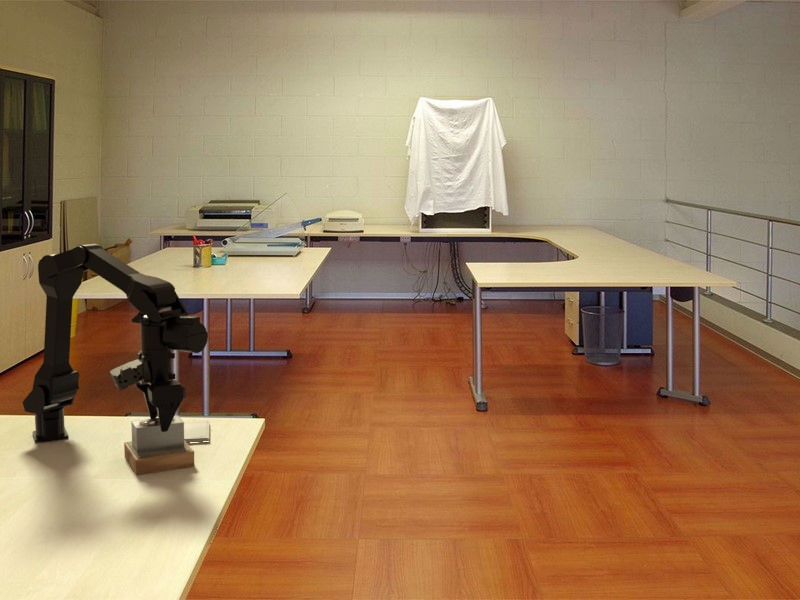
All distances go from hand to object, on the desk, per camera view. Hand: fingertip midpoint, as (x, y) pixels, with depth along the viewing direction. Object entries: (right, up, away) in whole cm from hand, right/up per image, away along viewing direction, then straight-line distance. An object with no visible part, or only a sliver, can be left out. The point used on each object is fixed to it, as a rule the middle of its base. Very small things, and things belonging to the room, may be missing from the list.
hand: (158, 424), depth 157 cm
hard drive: (+1, -6, +18) cm, 19 cm away
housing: (0, -4, +1) cm, 4 cm away
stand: (0, -7, +1) cm, 8 cm away
